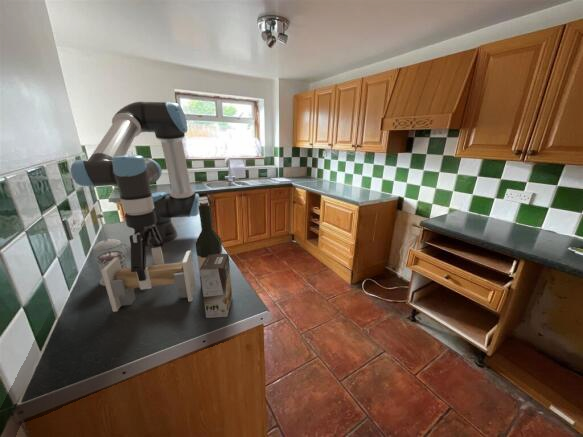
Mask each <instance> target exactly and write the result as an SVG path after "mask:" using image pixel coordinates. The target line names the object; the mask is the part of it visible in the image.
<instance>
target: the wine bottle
mask: <svg viewBox="0 0 583 437" xmlns="http://www.w3.org/2000/svg"><path fill="white" fill-rule="evenodd" d="M211 212H212V210H211V205H210V203H209V202H208V201H201V202H200V201H199V212H198V214H199V219H200V226H201V231H200V233H199V235H198V237H197V239H196V241H195V243H194V244H195V251H196V258H197V259H196V260H197V265H198V273H199V280H200V287H201V288H202V281H201V273H200V268H201V266H202V264H203V263H204V261H205V259H206V258H207V256H208V255H214V254H224V253H223V245H222V238H221V237H220V235H218V233H217V232H216V231H215V230H214V229H213V222H212V213H211Z"/></svg>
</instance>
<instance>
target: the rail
mask: <svg viewBox="0 0 583 437" xmlns="http://www.w3.org/2000/svg"><path fill="white" fill-rule="evenodd" d="M182 262H183V261H182ZM182 262H172V263H164V264H161V265H155V264H154V265H153V264H151V265H146V267H147V268H148V272H149V277H150V282H151V286H152V287H154V286H164V285H172V284H175V281H174V273H182V272H184V271H183V265H182ZM116 277H117V280H118V279H123V280H124V284H125V288H126V289H130V288H133V289H136V288H138V289H139V288H140V285H139V281H138V277H137V273H136V272H131V267H127V268H125V267H124V268H122V269H121V270H120V271H119V272H118V273H117V275H116Z"/></svg>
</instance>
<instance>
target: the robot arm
mask: <svg viewBox="0 0 583 437" xmlns="http://www.w3.org/2000/svg"><path fill="white" fill-rule="evenodd" d="M187 132H188V122H187V119H186V116H185V113H184V110H183V108H182V106H181V105H180V104H179V103H176V102H168V101H135V102H131V103H129V104H127V105H125V106H123V107H122V108H121V109H119V110H118V111H117V112H116V113H115V114H114V115H113V117H112V120H111V126H110V127H109V129H108V131H107V132H106V134H105V135H104V136H103V138H102V139H101V141H100V142H99V144H98V145H97V147H96V148H95V149H94V151H93V153H91V155H90V157H89V158H88V160H84V159H82V160H77V161H74V162H72V164H71V165H70V175H71V178H72V179H73V180H74V182H75V184H77V185H79V186H81V187H94V188H95V187H111V186H117V189H118V194H119V198H120V201H119V203H120V204H121V206H122V210H123V212H124V220H125V223H126V226H127V227H128V228H130V229H134V233H133V234H131V235H129V242H130V251H131V254H130V268H131V272H136V273H137V277H138V281H139V285H140V287H139V288H140V290H150V289H152V287H153V286H151V282H150V277H149V272H148V268H147V267H146V266H147V253H148V252H147V251H148V247H149V246H150V245H151V254H152V259H153V263H154V265H161V264H165V260H164V255H163V251H162V247H164V242H169V241H171V240H173V239H175V238H177V237H178V231H177V229H176V227H175V226H174V224H173V222H172V219H174V218H190V217H197V215H198V214H199V205H200V194H199V193H198V192H197V193H196V191H195V189H194V188H192V186H191V182H190V177H189V176H190V175H189V171H188V170H189V169H188V165H187V160H186V154H185V150H184V149H185V148H184V143H183V140H184V138H185V137H186V133H187ZM142 133H154V134H155V138H156V139H157V140H159V141H160V143H161V144H160V145H161V149H162V153H163V157H164V161H165V165H166V169H167V174H168V178H169V182H170V185H171V191H170V192H169V194H168V193H167V192H166V191H158V192H153V193H152V188H151V184H154V183H156V182H157V181H159V179H160V178H161V177H162V171H163V170H162V167H161V165H160V164H159V163H158V162H157V161H156V160H154V159H151V158H145V157H144V156H143V155H140V154H136V155H135V154H129V155H128V154H127V153H128V152H129V149H130V148H131V145H132V143H133V141H134V139H135V138H136V137H138V136H139V135H140V134H142Z"/></svg>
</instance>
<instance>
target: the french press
mask: <svg viewBox="0 0 583 437" xmlns="http://www.w3.org/2000/svg"><path fill="white" fill-rule="evenodd" d="M102 218H104V215H103V214H102V213H98V214H97V215H96V219H100V223H101V227H102V231H103V234H104V238H105V240H101V241H99V242H97V243H96V244H95V245H93V247H92V249H93V250H95V251H98V252H99V251H100V252H102V251H106V252H103V253H100V254H99V255H98V256H97V259H98V260H97V263H98V268H99V271H100V275H101V279H100V281H99V285H101V286H103V287H106V285H105V282H104V278H103V275H102V270H103V269H104V268H105V267H106V266H107V265H108V264H109V263H110V262H111V261H112V260H113V259H114V258H116V257H119V260H120V264H121V268H128V267H127V262H128V261H129V259H130V258H131V247H130V246H129V245H128V244H126V243H122V241H121V240H119V239H116V238H110V239H109V238H108V239H107V237H106V233H105V229H104V225H103V220H102ZM122 246H124V247H125V249H126V255H124V254H123V252H122V251H121V250H112V249H115V248H122ZM110 250H111V251H110ZM128 250H129V252H128ZM128 253H129V255H128ZM127 257H128V258H127Z"/></svg>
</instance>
